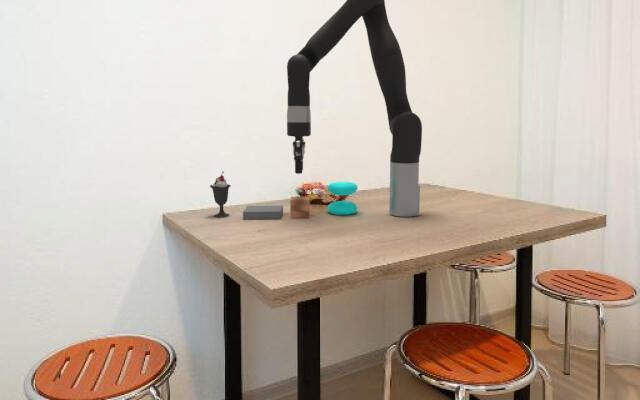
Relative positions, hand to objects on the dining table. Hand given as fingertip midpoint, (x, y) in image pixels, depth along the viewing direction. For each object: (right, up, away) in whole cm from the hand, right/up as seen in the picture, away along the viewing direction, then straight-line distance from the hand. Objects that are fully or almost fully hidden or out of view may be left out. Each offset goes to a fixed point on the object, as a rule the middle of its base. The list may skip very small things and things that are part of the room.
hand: (299, 171), depth 156 cm
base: (-12, -15, +3) cm, 19 cm away
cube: (0, -14, +3) cm, 15 cm away
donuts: (+14, -14, +7) cm, 21 cm away
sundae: (-26, -14, +4) cm, 30 cm away
